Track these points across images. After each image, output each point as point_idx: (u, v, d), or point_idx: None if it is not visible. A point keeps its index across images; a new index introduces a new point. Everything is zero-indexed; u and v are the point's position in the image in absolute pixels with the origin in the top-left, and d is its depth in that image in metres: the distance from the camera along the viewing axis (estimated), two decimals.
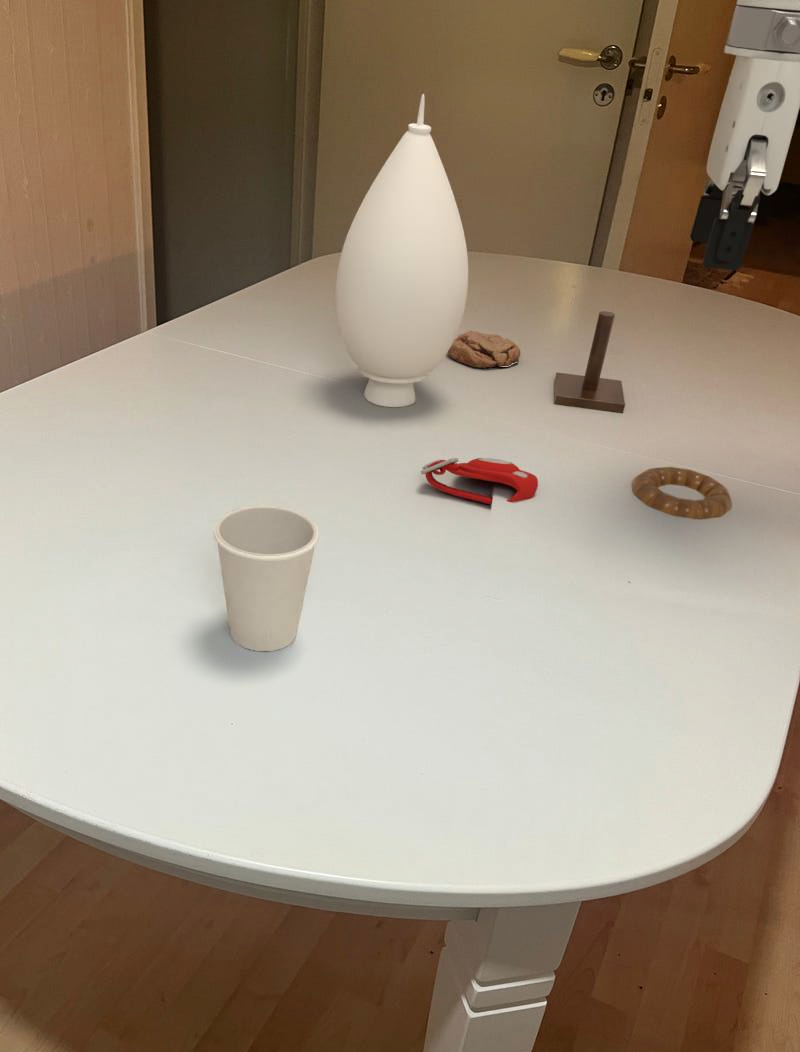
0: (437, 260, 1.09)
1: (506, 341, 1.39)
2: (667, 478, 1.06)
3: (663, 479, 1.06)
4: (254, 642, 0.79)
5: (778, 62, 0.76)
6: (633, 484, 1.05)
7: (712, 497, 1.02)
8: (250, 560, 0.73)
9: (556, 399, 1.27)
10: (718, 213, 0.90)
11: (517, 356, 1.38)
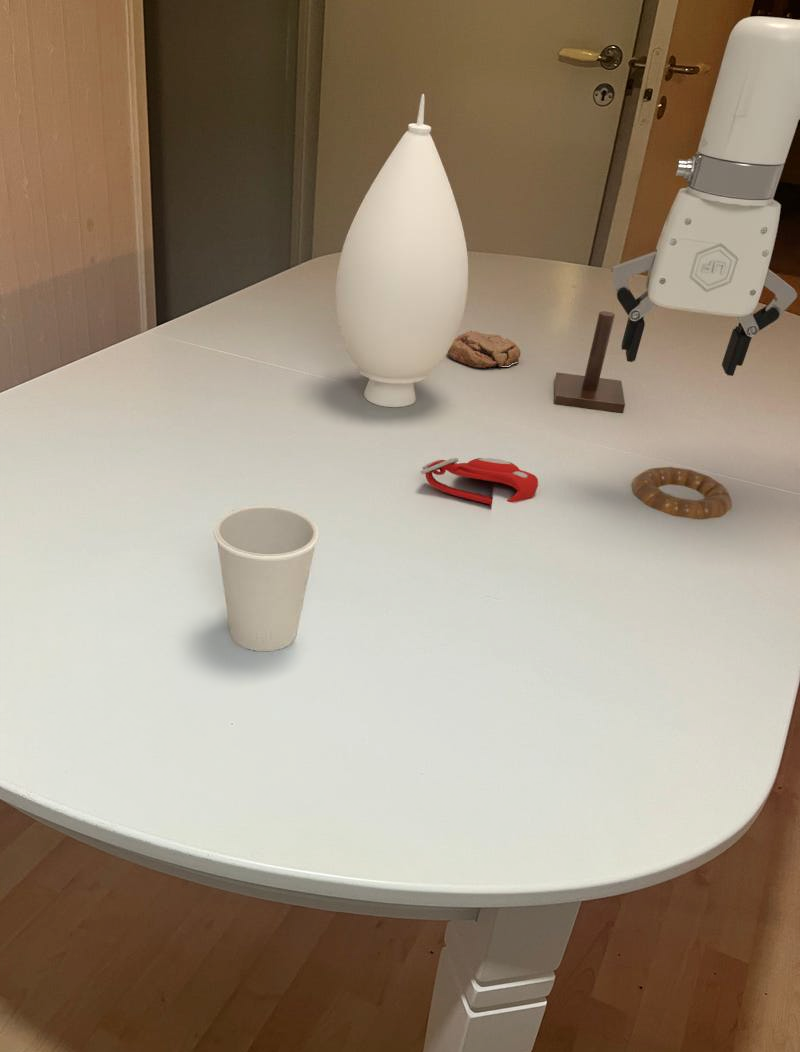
0: (437, 260, 1.09)
1: (506, 341, 1.39)
2: (667, 478, 1.06)
3: (663, 479, 1.06)
4: (254, 642, 0.79)
5: (679, 192, 0.88)
6: (633, 484, 1.05)
7: (712, 497, 1.02)
8: (250, 560, 0.73)
9: (556, 399, 1.27)
10: (732, 344, 0.94)
11: (517, 356, 1.38)
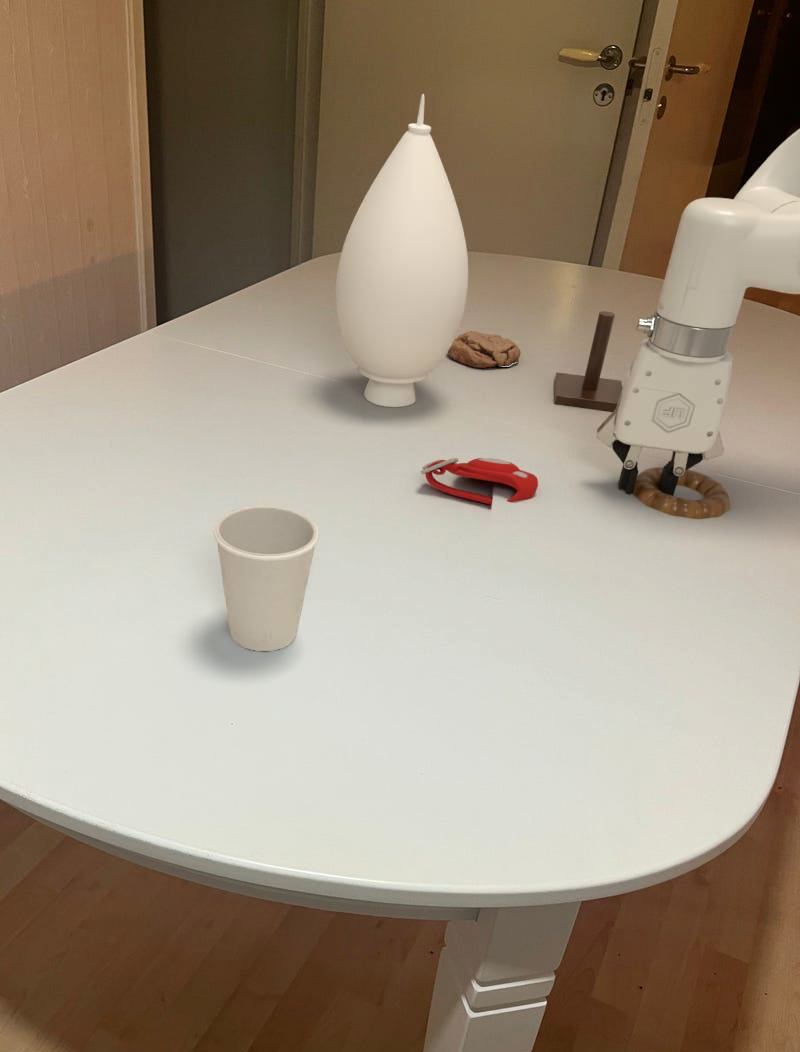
0: (437, 260, 1.09)
1: (506, 341, 1.39)
2: None
3: None
4: (254, 642, 0.79)
5: (640, 344, 0.97)
6: None
7: (711, 497, 1.02)
8: (250, 560, 0.73)
9: (556, 399, 1.27)
10: (662, 481, 1.04)
11: (517, 356, 1.38)
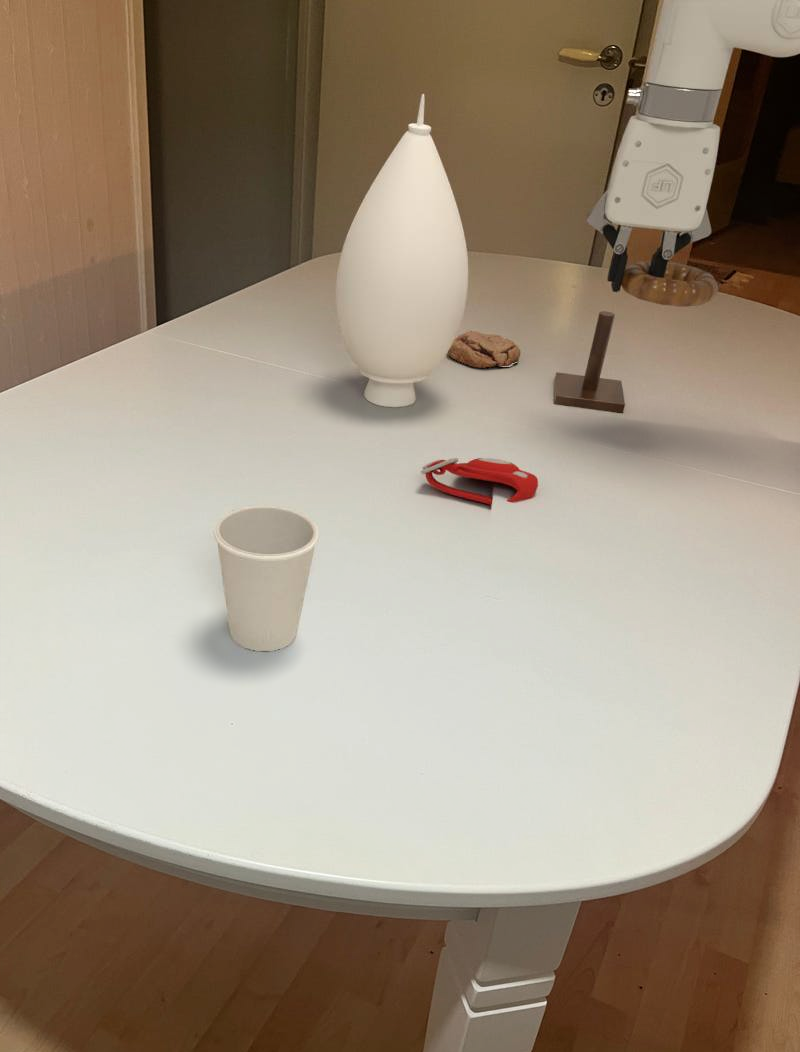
0: (437, 260, 1.09)
1: (506, 341, 1.39)
2: None
3: None
4: (254, 642, 0.79)
5: (630, 118, 0.99)
6: None
7: (699, 279, 1.04)
8: (250, 560, 0.73)
9: (556, 399, 1.27)
10: (651, 268, 1.06)
11: (517, 356, 1.38)
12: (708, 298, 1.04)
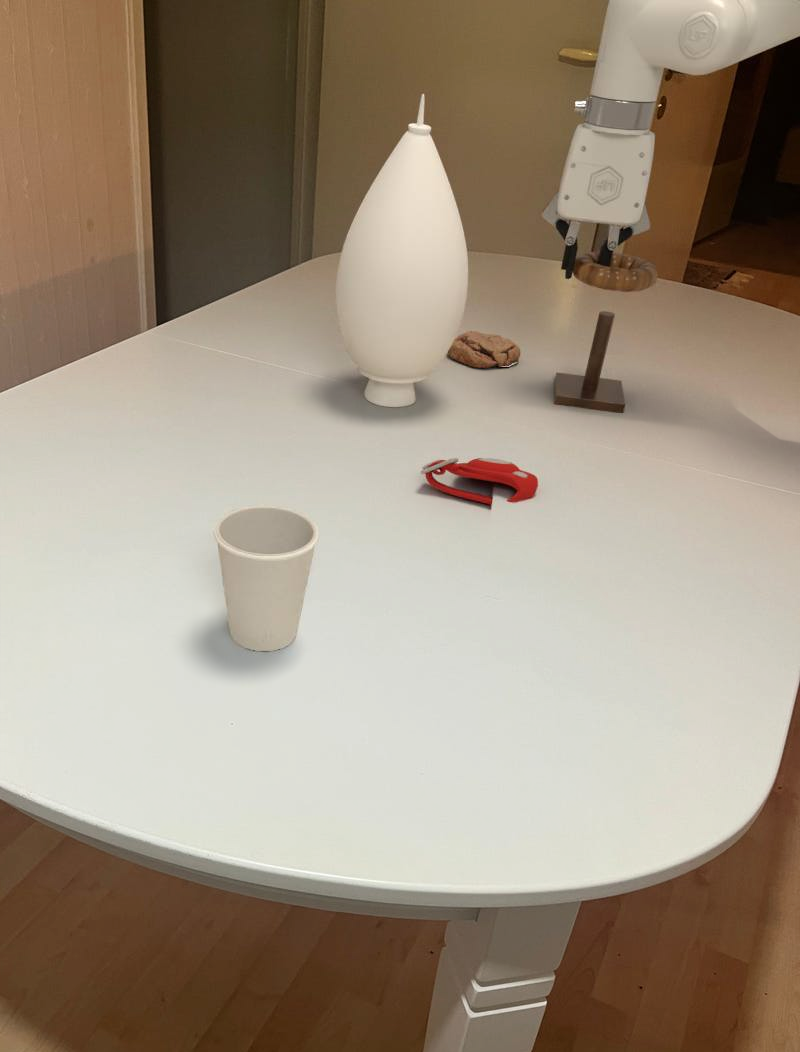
0: (437, 260, 1.09)
1: (506, 341, 1.39)
2: None
3: None
4: (254, 642, 0.79)
5: None
6: None
7: (640, 268, 1.18)
8: (250, 560, 0.73)
9: (556, 399, 1.27)
10: (599, 257, 1.20)
11: (517, 356, 1.38)
12: (647, 284, 1.18)
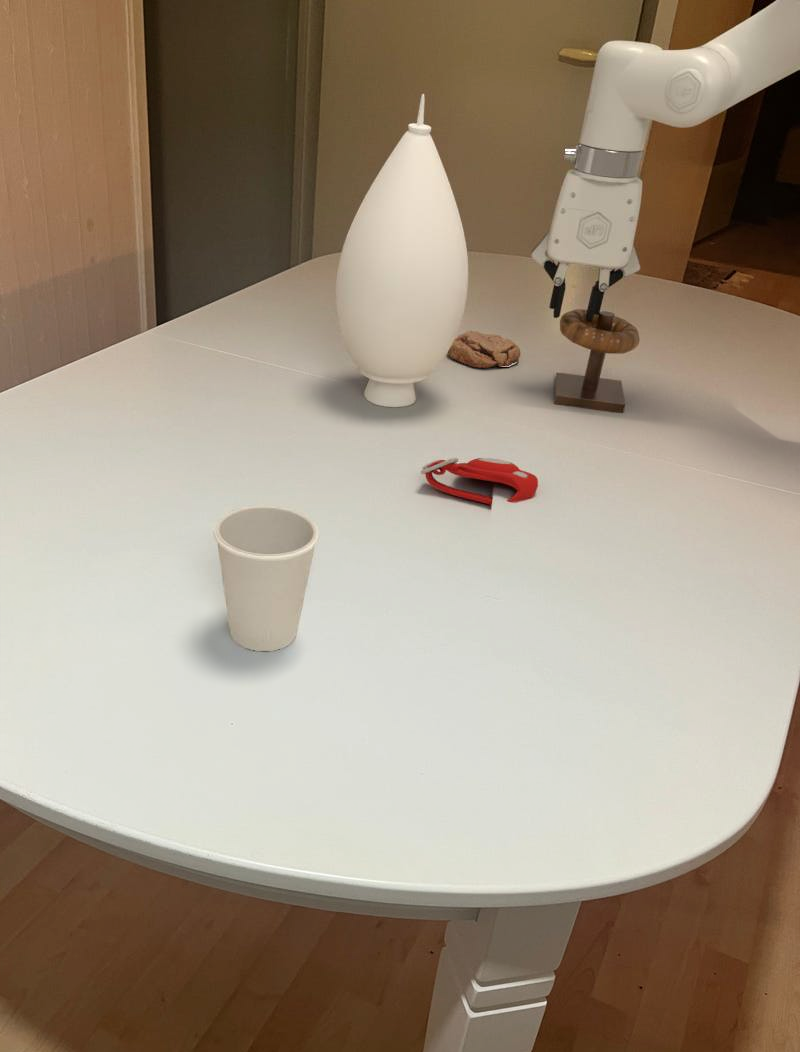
0: (437, 260, 1.09)
1: (506, 341, 1.39)
2: None
3: None
4: (254, 642, 0.79)
5: (567, 172, 1.16)
6: (561, 319, 1.26)
7: (624, 331, 1.23)
8: (250, 560, 0.73)
9: (556, 399, 1.27)
10: (591, 298, 1.23)
11: (517, 356, 1.38)
12: (630, 348, 1.23)
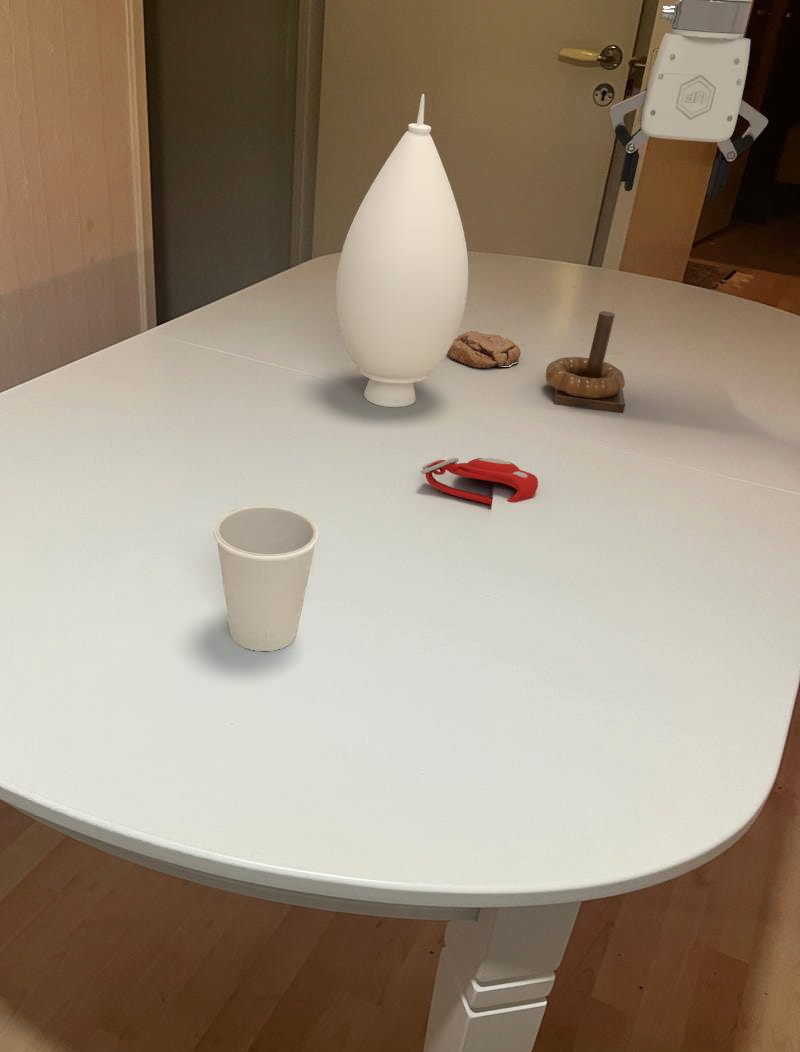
0: (437, 260, 1.09)
1: (506, 341, 1.39)
2: (575, 365, 1.31)
3: (571, 366, 1.31)
4: (254, 642, 0.79)
5: None
6: (546, 369, 1.30)
7: (608, 376, 1.27)
8: (250, 560, 0.73)
9: (556, 399, 1.27)
10: (714, 171, 1.11)
11: (517, 356, 1.38)
12: (615, 392, 1.26)
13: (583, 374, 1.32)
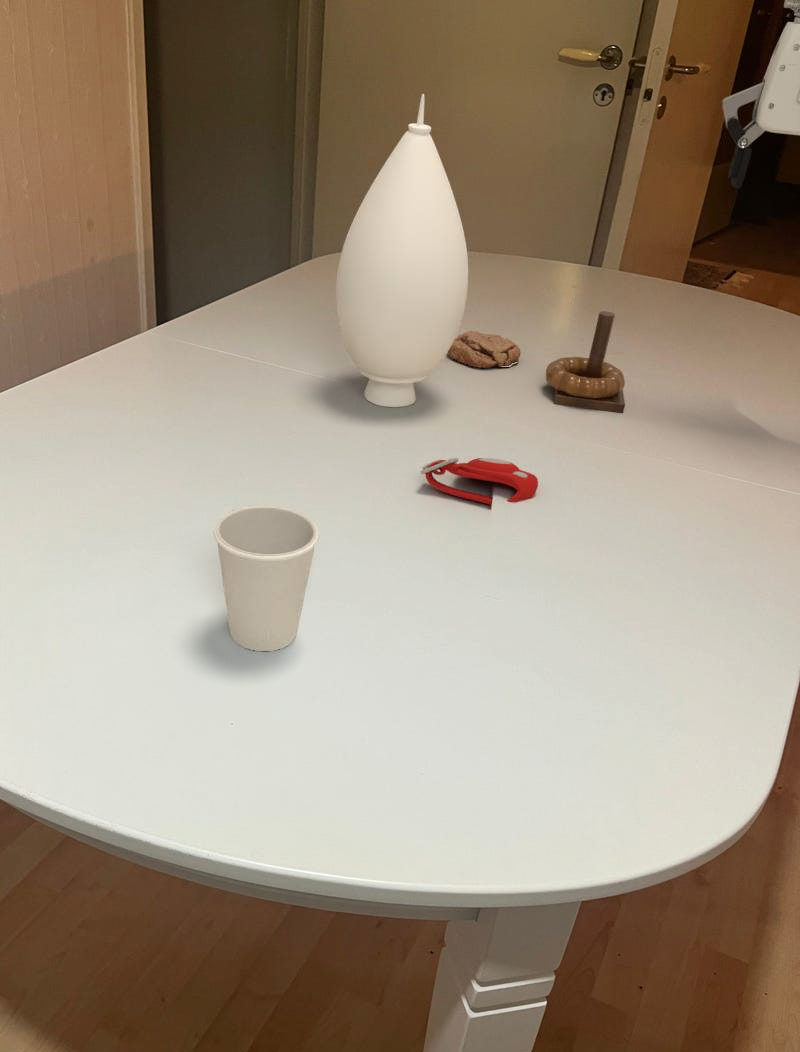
0: (437, 260, 1.09)
1: (506, 341, 1.39)
2: (575, 365, 1.31)
3: (571, 366, 1.31)
4: (254, 642, 0.79)
5: (787, 23, 1.00)
6: (546, 369, 1.30)
7: (608, 376, 1.27)
8: (250, 560, 0.73)
9: (556, 399, 1.27)
10: None
11: (517, 356, 1.38)
12: (615, 392, 1.26)
13: (583, 374, 1.32)
